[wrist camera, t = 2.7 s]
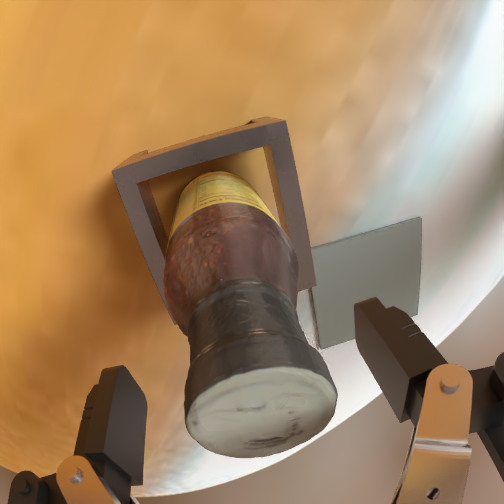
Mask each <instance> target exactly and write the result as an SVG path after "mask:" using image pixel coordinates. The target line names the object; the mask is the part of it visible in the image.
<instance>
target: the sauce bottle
mask: <svg viewBox="0 0 504 504" xmlns="http://www.w3.org/2000/svg"><path fill="white" fill-rule="evenodd" d="M163 283H164V297H165V300H166V303H167V307H168V310H169V311H170V312H171V314H172V316H173V319H174V320H175V321H176V323H177V324H178V326H179V328H180V330H181V331H182V332H183V334H184V335H186V336H188V341H189V344H190V368H189V371H188V377H187V380H186V384H185V401H184V409H185V424H186V428H187V430H188V432H189V434H190V435H191V437H192V438H193V439H195V440H196V441H197V442H198V443H199V444H200V445H201V446H203V447H204V448H206V449H207V450H209V451H211V452H214V453H217V454H220V455H224V456H229V457H236V458H254V457H265V456H270V455H273V454H277V453H281V452H284V451H286V450H289V449H291V448H293V447H295V446H297V445H299V444H302V443H304V442H306V441H308V440H310V439H311V438H312V437H314V436H315V435H317V434H318V433H320V432H321V431H322V430H323V429H324V428H325V427H326V426H327V425H328V423H329V422H330V420H331V419H332V417H333V415H334V413H335V407H336V402H337V396H338V394H337V390H336V387H335V385H334V382H333V380H332V378H331V376H330V373H329V370H328V367H327V365H326V363H325V362H324V360H323V358H322V356H321V355H320V353H319V352H318V351H317V350H316V349H315V348H313V347H312V346H310V345H309V344H308V342H307V340H306V337H305V335H304V332H303V331H302V329H301V326H300V325H299V322H298V316H297V312H296V304H297V292H298V283H299V264H298V259H297V255H296V252H295V250H294V248H293V245H292V243H291V241H290V239H289V238H288V236H287V235H286V233H285V232H284V230H283V229H282V228H281V226H280V225H279V224H278V222H277V221H276V219H275V218H274V217H273V215H272V214H271V213H270V211H269V210H268V208H267V207H266V206H265V204H264V203H263V201H262V200H261V198H260V197H259V196H258V194H257V193H256V191H255V190H254V189H253V187H252V186H251V185H250V184H249V183H248V182H247V181H245V180H244V179H243V178H241V177H239V176H237V175H235V174H233V173H229V172H224V171H217V172H216V171H215V172H206V173H203V174H200V175H198V177H197V178H195V179H194V180H193V181H192V182H190V183H189V184H188V185H187V186H186V187H185V189H184V190H183V192H182V193H181V195H180V199H179V201H178V203H177V206H176V210H175V214H174V218H173V222H172V227H171V232H170V236H169V241H168V246H167V250H166V257H165V268H164V279H163Z"/></svg>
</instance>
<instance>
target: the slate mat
mask: <svg viewBox="0 0 504 504" xmlns="http://www.w3.org/2000/svg"><path fill="white" fill-rule="evenodd" d="M421 240H422V218H420V217H417V218H414V219H410V220H407V221H404V222H400V223H397V224H393V225H390V226H387V227H383V228H380V229H376V230H373V231H369V232H366V233H362V234H359V235H356V236H352V237H349V238H345V239H342V240H338V241H335V242H331V243H328V244H324V245H321V246H317V247H314V248H311V253H312V259H313V265H314V271H315V278H316V284H317V286H315V287H311V291H312V297H313V303H314V310H315V316H316V323H317V329H318V336H319V343H320V348H321V350H322V349H325V348H328V347H331V346H334V345H337V344H340V343H343V342H346V341H349V340H352V339H354V338H355V321H354V304H355V303H358V302H361V301H364V300H367V299H369V298H372V297H377V298H378V299H379V300H380V302H381V303H382V304H383V305H384V307H385V308H389V307H392V306H395V307H397V308H398V309H400V310H402V311H404V312H406V313H407V314H408V315H409V317H413V316H415V315H417V313H418V302H419V289H420V272H421Z"/></svg>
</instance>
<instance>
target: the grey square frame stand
mask: <svg viewBox="0 0 504 504" xmlns="http://www.w3.org/2000/svg"><path fill="white" fill-rule="evenodd" d="M251 123H252V124H248V125H243V126H239V127H235V128H232V129H228V130H224V131H220V132H216V133H213V134H209V135H206V136H202V137H199V138H195V139H192V140H188V141H185V142H182V143H178V144H175V145H172V146H169V147H166V148H163V149H160V150H156V151H153V152H150V153H148V151H147V150H146V151H143V152H140V153H137V154H134V155H132V156H131V157H129V158H128V159H127V160H125V161H124V162H123V163H121V164H120V165H119V166H117V167H116V168H115V169H114V170H112V173H113V176H114V179H115V182H116V185H117V188H118V191H119V193H120V196H121V199H122V202H123V204H124V207H125V210H126V212H127V215H128V218H129V220H130V223H131V225H132V228H133V231H134V233H135V236H136V238H137V241H138V243H139V246H140V248H141V250H142V253H143V255H144V258H145V260H146V262H147V265H148V267H149V270H150V272H151V274H152V277H153V279H154V281H155V283H156V286H157V288H158V290H159V292H160V295H161V297H162V299H163V301H164V303H165V306H166V308H167V310H168V307H167V303H166V300H165V297H164V283H163V279H164V268H165V257H166V250H167V246H168V241H169V240H168V237H167V234H166V232H165V229H164V226H163V223H162V221H161V218H160V215H159V212H158V209H157V206H156V204H155V201H154V198H153V195H152V192H151V189H150V186H149V183H148V179H151V178H154V177H157V176H160V175H163V174H166V173H169V172H173V171H176V170H179V169H182V168H186V167H189V166H192V165H196V164H199V163H203V162H206V161H210V160H213V159H217V158H220V157H224V156H228V155H232V154H235V153H239V152H243V151H247V150H251V149H255V148H259V147H263V148H264V153H265V157H266V161H267V166H268V170H269V174H270V179H271V183H272V187H273V192H274V196H275V201H276V205H277V210H278V214H279V219H280V224H281V228H282V229H283V230H284V232H285V233H286V235H287V236H288V238H289V239H290V241H291V243H292V245H293V248H294V250H295V252H296V255H297V259H298V264H299V283H298V291H301V290H305V289H308V288H311V287H315V286H317V284H316V278H315V271H314V265H313V259H312V253H311V247H310V241H309V235H308V229H307V224H306V218H305V213H304V207H303V202H302V197H301V191H300V186H299V181H298V176H297V171H296V166H295V161H294V156H293V152H292V147H291V142H290V138H289V133H288V128H287V124H286V120H281V119H276V118H271V117H262V118H258V119H254V120H251ZM168 312H169V314H170V316H171V319H172V321H173V323H174V325H176V324H177V323H176V321H175V320H174V319H173V316H172V314H171V312H170V311H169V310H168Z"/></svg>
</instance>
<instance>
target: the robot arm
mask: <svg viewBox="0 0 504 504" xmlns="http://www.w3.org/2000/svg"><path fill="white" fill-rule="evenodd" d="M354 321H355V338H356V343H357V346H358V349H359V352H360V353H361V355H362V357H363V359H364V360H365V362H366V364H367V366H368V367H369V369H370V371H371V372H372V374H373V376H374V378H375V379H376V381H377V383H378V385H379V386H380V388H381V390H382V392H383V393H384V395H385V397H386V398H387V400H388V402H389V404H390V406H391V407H392V409H393V411H394V413H395V414H396V416H397V418H398V420H399V422H400V423H402V422H404V421H406V420H408V419H411V421H412V423H413V424H414V429H413V433H412V437H411V442H410V445H409V449H408V453H407V456H406V460H405V464H404V467H403V470H402V473H401V476H400V479H399V482H398V485H397V488H396V491H395V493H394V496H393V499H392V502H391V504H462V501H463V497H464V492H465V487H466V482H467V477H468V472H469V466H470V459H471V447H470V446H469V445H468V435H469V434H470V433H474V432H477V433H478V435H479V437H480V439H481V440H482V442H483V444H484V445H485V448H486V449H487V451H488V453H489V455H490V457H491V458H492V460H493V462H494V464H495V466H496V468H497V470H498V472H499V474H500V476H501V477H502V479H503V481H504V352H503V353H502V354H500V355H499V356H498V358H497V360H496V362H495V365H494V366H490V367H486V368H481V369H477V370H471V371H467V370H466V369H465V368H464V367H462V366H460V365H457V364H449V363H448V362H447V361H446V360H445V359H444V358H443V356H442V355H441V354H440V353H439V352H438V350H437V349H436V348H435V347H434V345H433V344H432V343H431V342H430V340H429V339H428V338H427V337H426V336H425V334H424V333H423V332H421V330H420V328H419V327H418V326H417V325H416V324H415V323H414V321H413V320H412V319H411V318H410V317H409V315H408V314H407V313H406V312H404V311H402V310H400V309H398V308H397V307H395V306H392V307H389V308H385V307H384V305H383V304H382V303H381V302H380V300H379V299H378V298H377V297H372V298H369V299H367V300H364V301H361V302H358V303H355V304H354ZM84 409H85V410H84V411H83V415H82V420H81V424H80V428H79V432H78V437H77V441H76V446H75V451H74V455H73V456H71V457H68V458H67V459H65V460H64V461H63V462H62V463H61V464H60V466H59V467H58V470H57V473H55V474H52V475H48V476H45V477H42V478H39V477H38V476H36V475H35V474H34V473H32V472H31V471H22V472H20V473H19V474H17V475H16V476H15V478H14V479H13V481H12V483H11V488H10V493H9V499H8V504H139V502H138V501H137V500H136V499H135V497H134V496H133V495H132V494H131V493H130V492H131V486H138V485H143V464H144V446H145V432H146V419H147V401H146V398H145V395H144V393H143V391H142V390H141V388H140V387H139V386H138V384H137V383H136V381H135V380H134V378H133V377H132V376H131V374H130V373H129V371H128V370H127V368H126V367H125V366H123V365H121V366H116V367H111V368H105V369H103V370H102V372H101V376H100V380H99V384H97V385H94V387H93V388H92V390H91V391H90V393H89V394H88V396H87V399H86V403H85V407H84Z"/></svg>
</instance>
